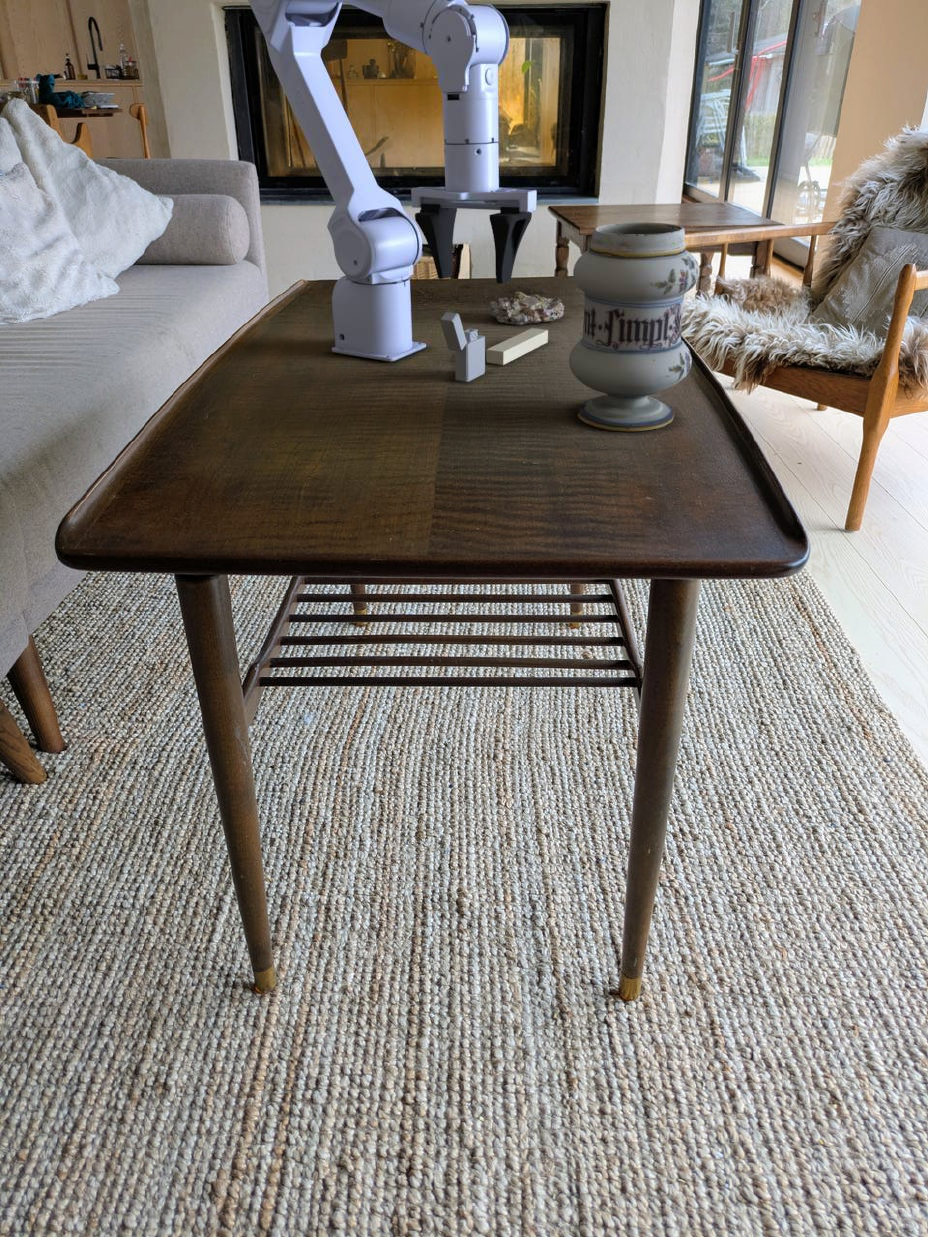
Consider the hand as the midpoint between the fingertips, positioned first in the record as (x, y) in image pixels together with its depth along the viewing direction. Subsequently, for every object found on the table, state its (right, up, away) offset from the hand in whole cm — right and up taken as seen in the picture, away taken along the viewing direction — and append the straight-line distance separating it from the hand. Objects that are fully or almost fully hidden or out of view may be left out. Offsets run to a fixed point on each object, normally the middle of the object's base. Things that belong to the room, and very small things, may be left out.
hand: (474, 279), depth 101 cm
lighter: (-1, -11, +3) cm, 11 cm away
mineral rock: (+8, +4, +27) cm, 29 cm away
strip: (+6, -4, +13) cm, 14 cm away
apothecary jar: (+15, -17, -8) cm, 25 cm away
